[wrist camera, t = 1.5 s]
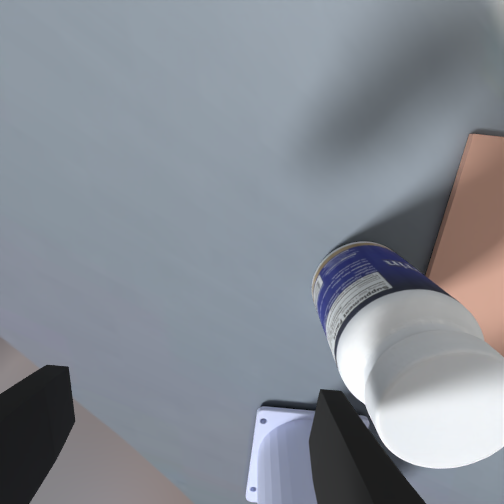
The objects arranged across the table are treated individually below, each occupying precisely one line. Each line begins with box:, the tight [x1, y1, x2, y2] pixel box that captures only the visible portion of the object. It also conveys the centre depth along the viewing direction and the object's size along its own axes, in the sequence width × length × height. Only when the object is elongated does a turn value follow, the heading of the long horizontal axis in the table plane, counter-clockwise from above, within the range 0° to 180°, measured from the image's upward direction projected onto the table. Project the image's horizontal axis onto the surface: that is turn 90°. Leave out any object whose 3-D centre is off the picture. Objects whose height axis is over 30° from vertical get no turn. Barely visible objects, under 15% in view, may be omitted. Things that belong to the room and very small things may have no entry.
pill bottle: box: [312, 241, 504, 468], centre depth 14 cm, size 6×6×10 cm
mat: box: [425, 134, 504, 357], centre depth 19 cm, size 18×10×1 cm, turn 174°
